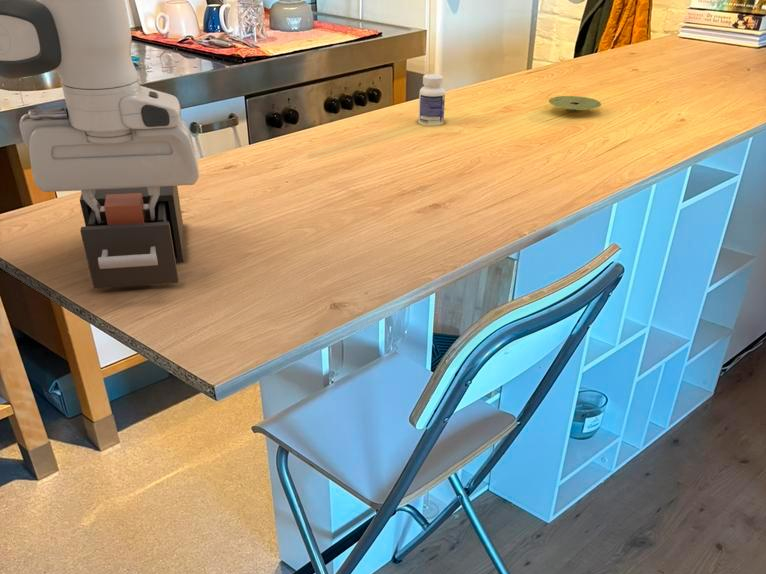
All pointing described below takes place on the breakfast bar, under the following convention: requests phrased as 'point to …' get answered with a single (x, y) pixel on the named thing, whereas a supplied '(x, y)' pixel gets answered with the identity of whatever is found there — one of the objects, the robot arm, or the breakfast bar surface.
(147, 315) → the breakfast bar surface
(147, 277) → the drawer
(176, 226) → the cabinet
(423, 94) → the pill bottle
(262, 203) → the breakfast bar surface
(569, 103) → the grey green disc
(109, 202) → the block
